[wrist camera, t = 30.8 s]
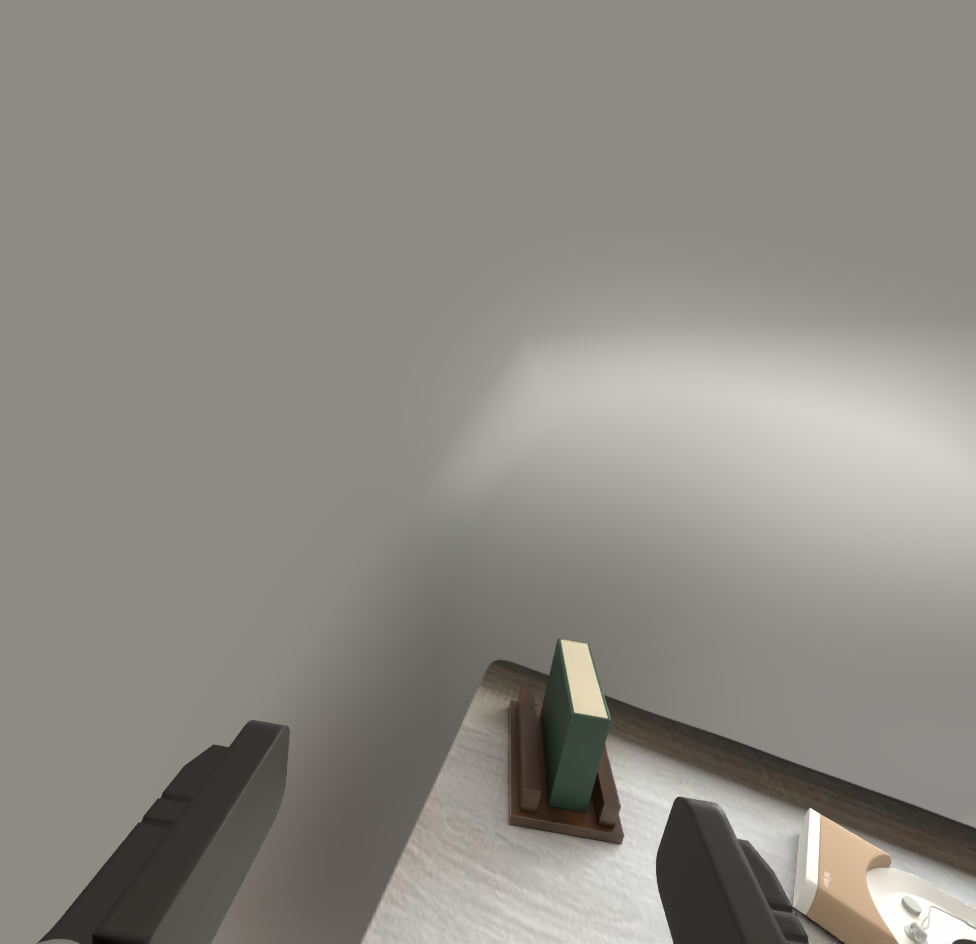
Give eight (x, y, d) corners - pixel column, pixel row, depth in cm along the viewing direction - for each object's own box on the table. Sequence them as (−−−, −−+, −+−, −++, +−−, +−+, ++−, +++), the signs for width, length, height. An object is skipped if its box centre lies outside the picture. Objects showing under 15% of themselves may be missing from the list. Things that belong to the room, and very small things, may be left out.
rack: (508, 824, 40) (516, 792, 39) (509, 707, 53) (514, 681, 52) (621, 844, 40) (631, 813, 39) (593, 722, 53) (599, 696, 52)
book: (548, 806, 41) (571, 713, 38) (540, 715, 51) (557, 637, 49) (586, 813, 41) (611, 720, 38) (570, 720, 51) (589, 643, 49)
